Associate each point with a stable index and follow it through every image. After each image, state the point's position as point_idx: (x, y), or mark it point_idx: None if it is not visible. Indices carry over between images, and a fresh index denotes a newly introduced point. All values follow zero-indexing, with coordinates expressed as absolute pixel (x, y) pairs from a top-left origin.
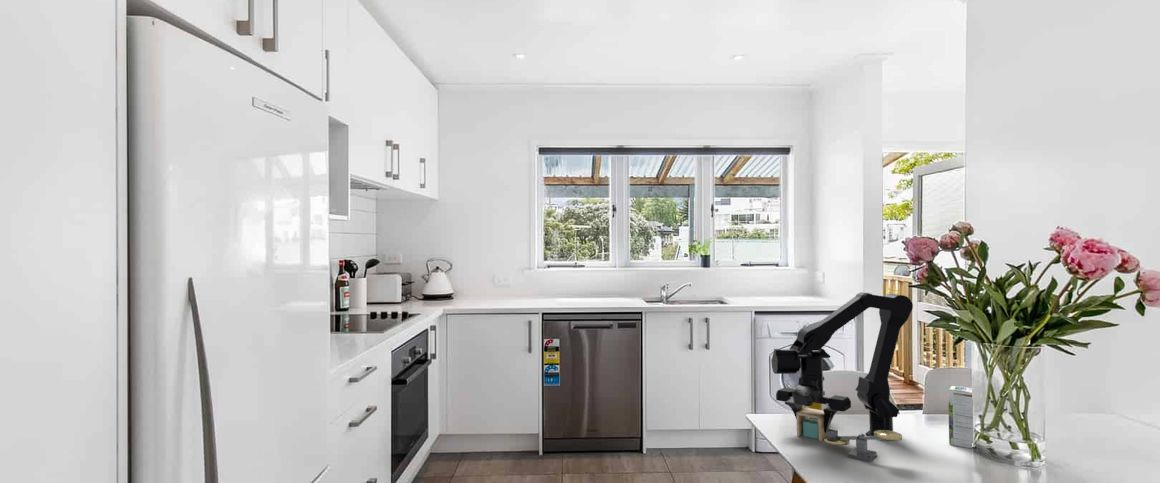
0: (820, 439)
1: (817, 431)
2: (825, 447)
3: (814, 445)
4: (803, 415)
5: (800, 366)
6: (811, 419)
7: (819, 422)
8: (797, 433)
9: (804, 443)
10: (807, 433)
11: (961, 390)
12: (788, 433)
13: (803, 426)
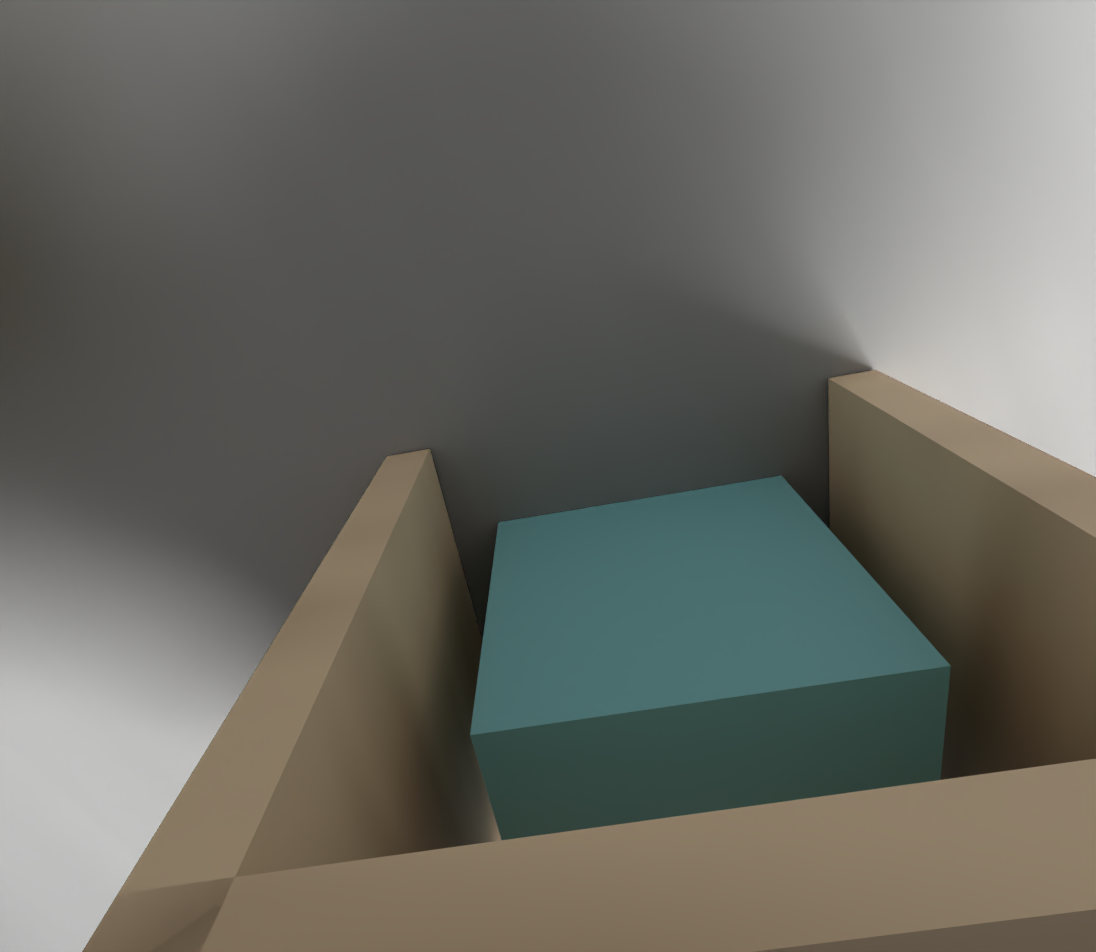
0: (388, 467)
1: (493, 604)
2: (52, 156)
3: (274, 75)
4: (1093, 784)
5: None
6: None
7: (249, 733)
8: (892, 386)
9: (504, 7)
10: (714, 521)
11: None
12: (1083, 385)
13: (862, 583)
